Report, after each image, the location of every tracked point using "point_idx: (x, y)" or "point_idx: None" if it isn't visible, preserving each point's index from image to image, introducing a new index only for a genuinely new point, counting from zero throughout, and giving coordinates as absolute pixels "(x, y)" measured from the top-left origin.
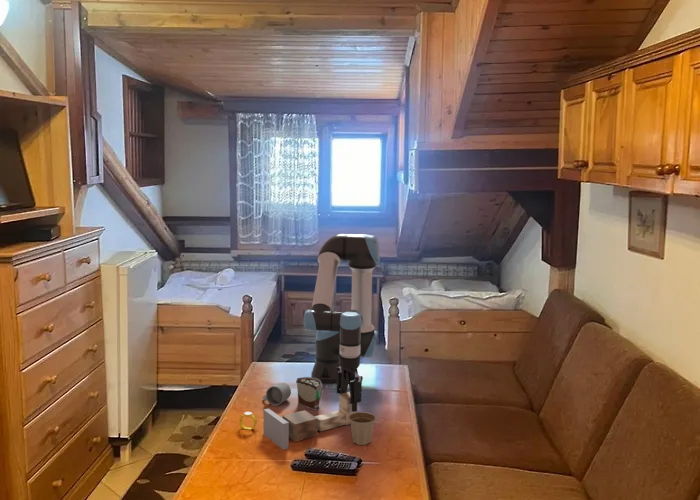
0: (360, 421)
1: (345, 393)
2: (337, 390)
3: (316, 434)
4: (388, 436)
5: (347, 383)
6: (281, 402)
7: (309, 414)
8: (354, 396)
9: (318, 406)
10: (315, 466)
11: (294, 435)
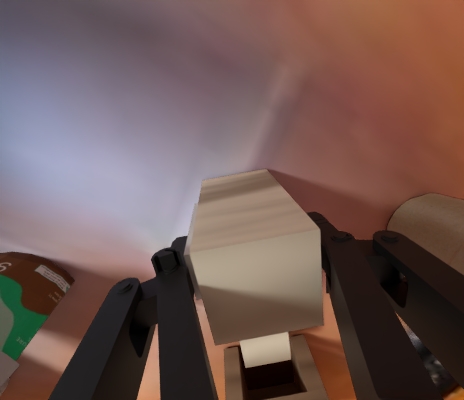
0: (440, 248)
1: (220, 303)
2: (139, 340)
3: (305, 340)
4: (457, 99)
5: (211, 384)
6: (5, 385)
7: None
8: (410, 318)
9: (46, 265)
10: (448, 373)
11: None
